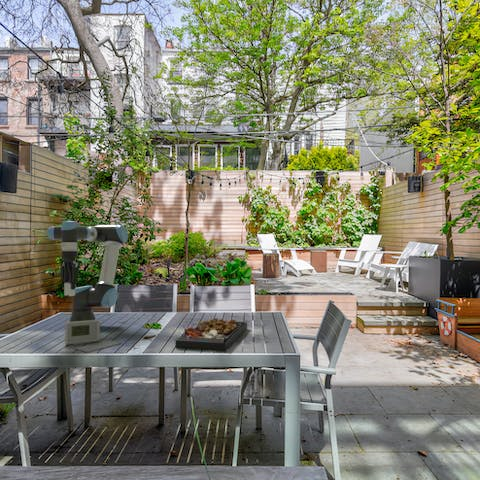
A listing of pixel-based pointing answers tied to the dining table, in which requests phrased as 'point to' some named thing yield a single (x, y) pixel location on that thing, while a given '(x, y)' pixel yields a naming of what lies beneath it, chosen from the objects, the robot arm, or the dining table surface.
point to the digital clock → (82, 332)
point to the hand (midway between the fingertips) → (69, 295)
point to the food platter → (211, 335)
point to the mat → (97, 346)
